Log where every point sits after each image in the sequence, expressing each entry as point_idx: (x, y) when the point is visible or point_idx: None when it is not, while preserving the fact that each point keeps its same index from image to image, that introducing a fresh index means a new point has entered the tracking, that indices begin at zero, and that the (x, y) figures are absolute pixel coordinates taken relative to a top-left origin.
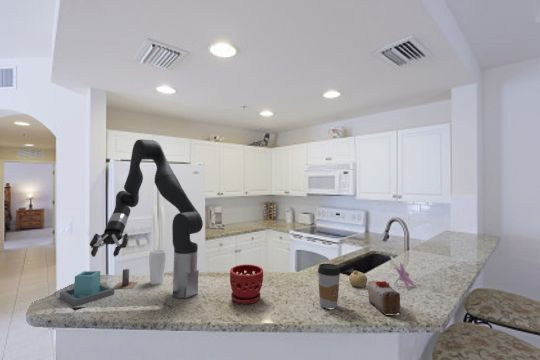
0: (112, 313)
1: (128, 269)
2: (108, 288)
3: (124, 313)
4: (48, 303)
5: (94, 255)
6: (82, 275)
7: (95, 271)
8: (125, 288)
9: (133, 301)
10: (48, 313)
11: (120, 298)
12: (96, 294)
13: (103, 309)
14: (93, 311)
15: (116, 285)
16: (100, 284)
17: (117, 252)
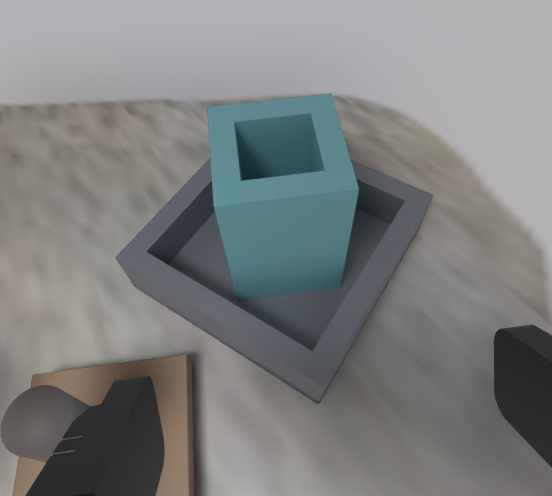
0: (77, 144)
1: (11, 438)
2: (158, 261)
3: (25, 147)
4: (453, 207)
5: (501, 386)
6: (290, 110)
7: (251, 192)
8: (82, 376)
9: (7, 253)
10: (350, 130)
11: (93, 285)
12: (188, 181)
13: (132, 170)
14: (168, 153)
15: (178, 440)
16: (260, 332)
17: (75, 420)
